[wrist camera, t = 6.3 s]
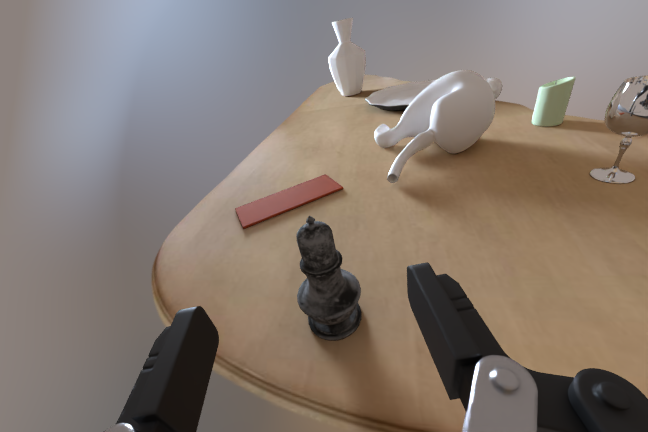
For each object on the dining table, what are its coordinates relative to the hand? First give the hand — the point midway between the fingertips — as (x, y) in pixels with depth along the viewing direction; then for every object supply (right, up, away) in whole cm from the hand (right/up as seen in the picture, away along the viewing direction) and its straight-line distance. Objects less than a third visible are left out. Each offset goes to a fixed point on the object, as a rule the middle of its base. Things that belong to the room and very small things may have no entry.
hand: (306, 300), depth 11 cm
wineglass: (+40, +9, +27) cm, 49 cm away
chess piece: (+2, -7, +17) cm, 18 cm away
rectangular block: (-5, +6, +38) cm, 39 cm away
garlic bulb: (+44, +34, +64) cm, 84 cm away
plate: (+29, +40, +78) cm, 93 cm away
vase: (+12, +53, +103) cm, 117 cm away
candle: (+45, +22, +45) cm, 68 cm away
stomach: (+22, +16, +44) cm, 52 cm away
